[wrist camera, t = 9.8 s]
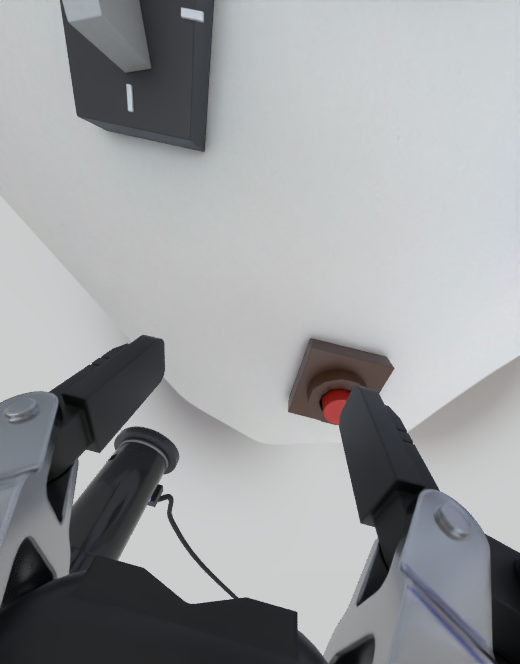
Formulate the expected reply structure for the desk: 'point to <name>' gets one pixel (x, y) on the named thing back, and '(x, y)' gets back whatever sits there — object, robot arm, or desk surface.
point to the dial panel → (150, 76)
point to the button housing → (334, 375)
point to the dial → (112, 30)
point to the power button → (334, 404)
